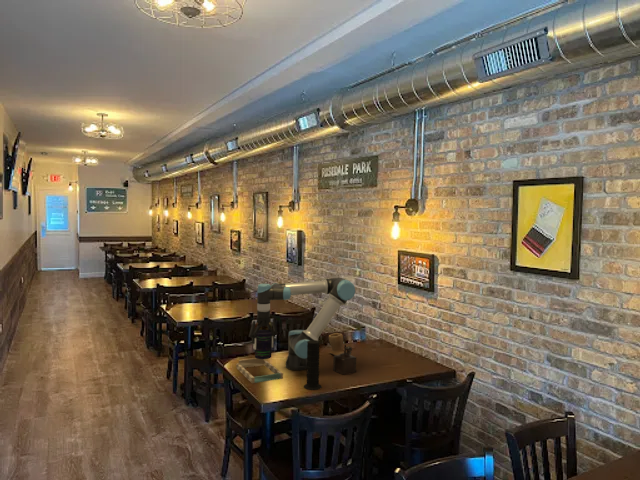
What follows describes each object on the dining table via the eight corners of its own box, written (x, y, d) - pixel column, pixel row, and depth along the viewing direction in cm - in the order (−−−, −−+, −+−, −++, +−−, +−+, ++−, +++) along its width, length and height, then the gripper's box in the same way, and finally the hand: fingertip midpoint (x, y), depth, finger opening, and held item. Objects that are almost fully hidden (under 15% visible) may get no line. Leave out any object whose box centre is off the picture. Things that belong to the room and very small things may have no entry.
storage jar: (269, 353, 284) (269, 329, 284) (273, 358, 275) (273, 333, 275) (252, 355, 281) (253, 330, 280) (256, 360, 272) (257, 334, 271)
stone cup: (325, 353, 327) (325, 332, 326) (339, 351, 333) (340, 330, 332) (336, 359, 314) (337, 337, 313) (351, 357, 320) (352, 335, 319)
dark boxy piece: (331, 370, 292) (332, 341, 291) (345, 367, 298) (346, 339, 297) (347, 377, 279) (348, 347, 278) (362, 374, 286) (362, 345, 285)
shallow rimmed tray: (236, 368, 293) (236, 360, 293) (265, 364, 302) (265, 356, 302) (252, 383, 268) (252, 374, 267) (283, 378, 276) (283, 370, 276)
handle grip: (320, 383, 269) (303, 383, 268) (321, 337, 268) (303, 337, 267) (322, 390, 259) (304, 390, 258) (323, 342, 258) (304, 342, 257)
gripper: (279, 307, 285) (278, 344, 286) (243, 310, 275) (242, 348, 276) (283, 310, 279) (283, 347, 280) (247, 313, 268) (246, 351, 269)
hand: (263, 348), depth 278 cm, fingers closed on storage jar, 10 cm apart
